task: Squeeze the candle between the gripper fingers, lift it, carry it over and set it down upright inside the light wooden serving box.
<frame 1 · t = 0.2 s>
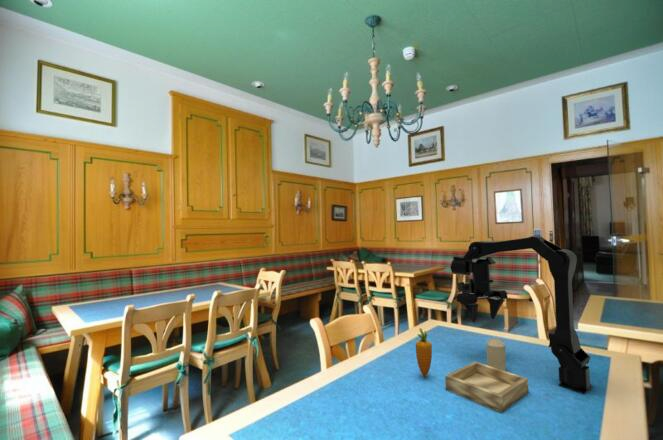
hand: (483, 320, 118), 14 cm above the table, tool pointing down, fingers open, 9 cm apart
candle: (496, 370, 109), on the table
serving box: (486, 391, 95), on the table
carrot: (424, 377, 105), on the table
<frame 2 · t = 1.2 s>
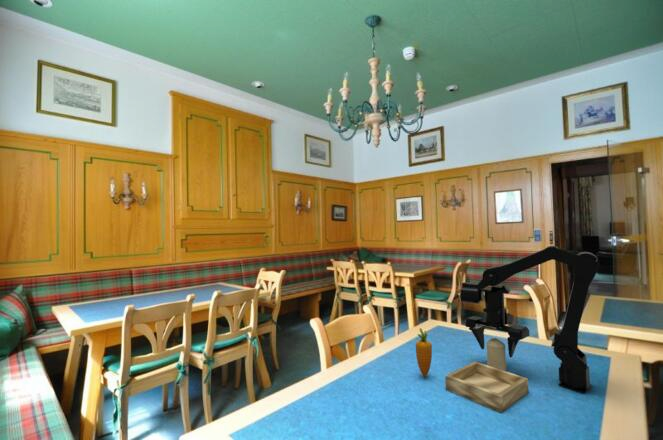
hand: (496, 353, 109), 6 cm above the table, tool pointing down, fingers open, 9 cm apart
nothing on the table moved.
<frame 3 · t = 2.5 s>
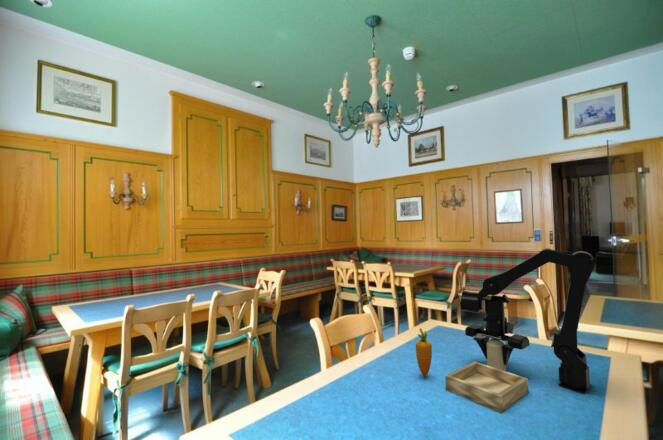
hand: (496, 362, 109), 3 cm above the table, tool pointing down, fingers closed on candle, 5 cm apart
candle: (496, 370, 109), on the table, touching gripper
everything else where it was.
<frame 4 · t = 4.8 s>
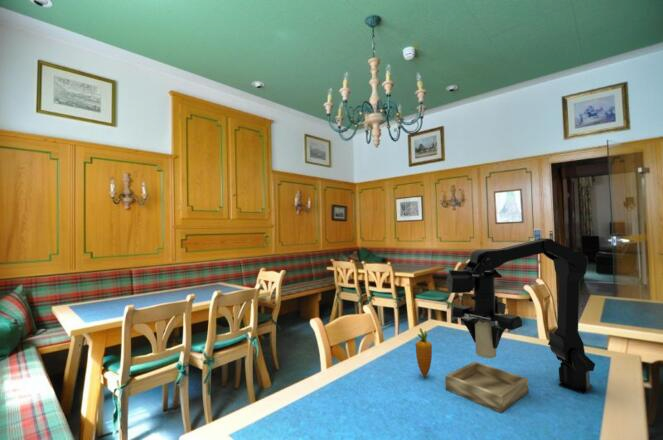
hand: (485, 345, 98), 12 cm above the table, tool pointing down, fingers closed on candle, 5 cm apart
candle: (486, 355, 98), point 9 cm above the table, touching gripper
everything else where it was.
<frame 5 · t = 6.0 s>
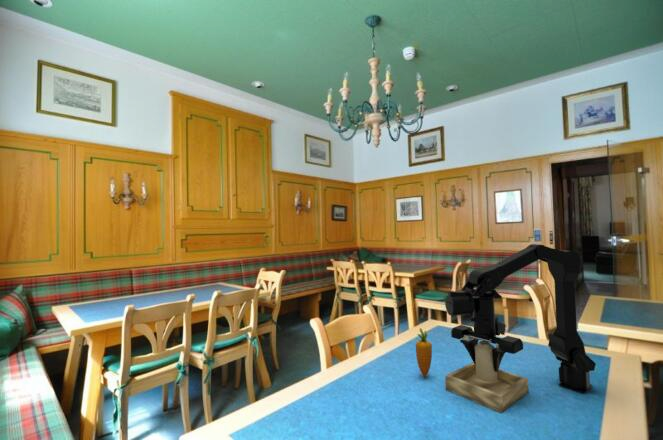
hand: (486, 368, 95), 7 cm above the table, tool pointing down, fingers closed on candle, 5 cm apart
candle: (486, 378, 95), point 4 cm above the table, touching gripper
everything else where it was.
when the fingers open (5 cm above the table, at t = 7.2 s): candle drops 1 cm, resting on serving box.
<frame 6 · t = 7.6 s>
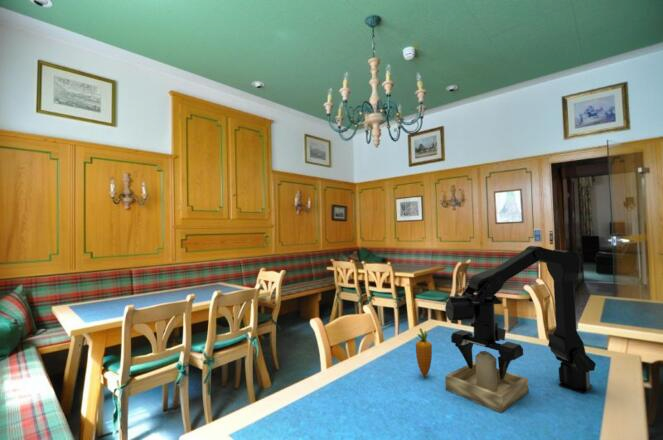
hand: (486, 373, 95), 5 cm above the table, tool pointing down, fingers open, 9 cm apart
candle: (486, 388, 95), point 1 cm above the table, touching serving box
everything else where it was.
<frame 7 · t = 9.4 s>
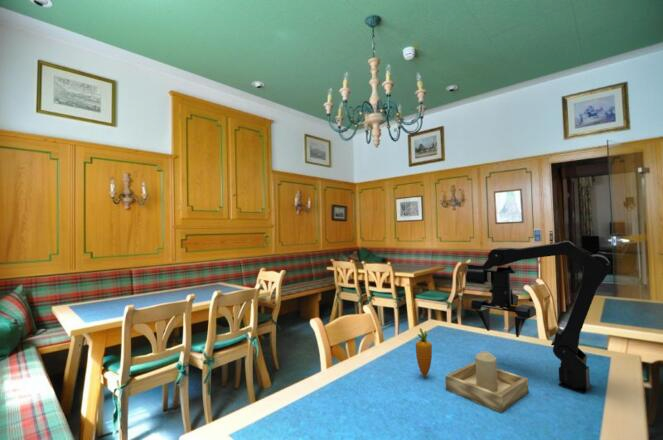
hand: (502, 333, 109), 12 cm above the table, tool pointing down, fingers open, 9 cm apart
nothing on the table moved.
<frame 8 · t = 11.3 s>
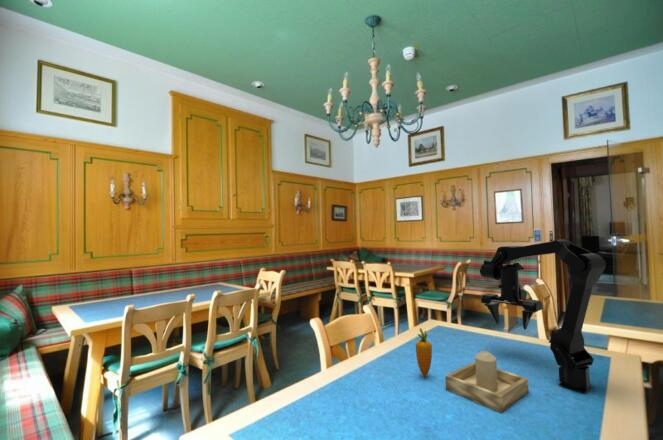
hand: (511, 326, 116), 12 cm above the table, tool pointing down, fingers open, 9 cm apart
nothing on the table moved.
at the end: candle inside the target area on the serving box (0.1 cm from its centre), point 0.8 cm above the serving box's base; candle tilted 0°; the gripper is holding nothing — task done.
